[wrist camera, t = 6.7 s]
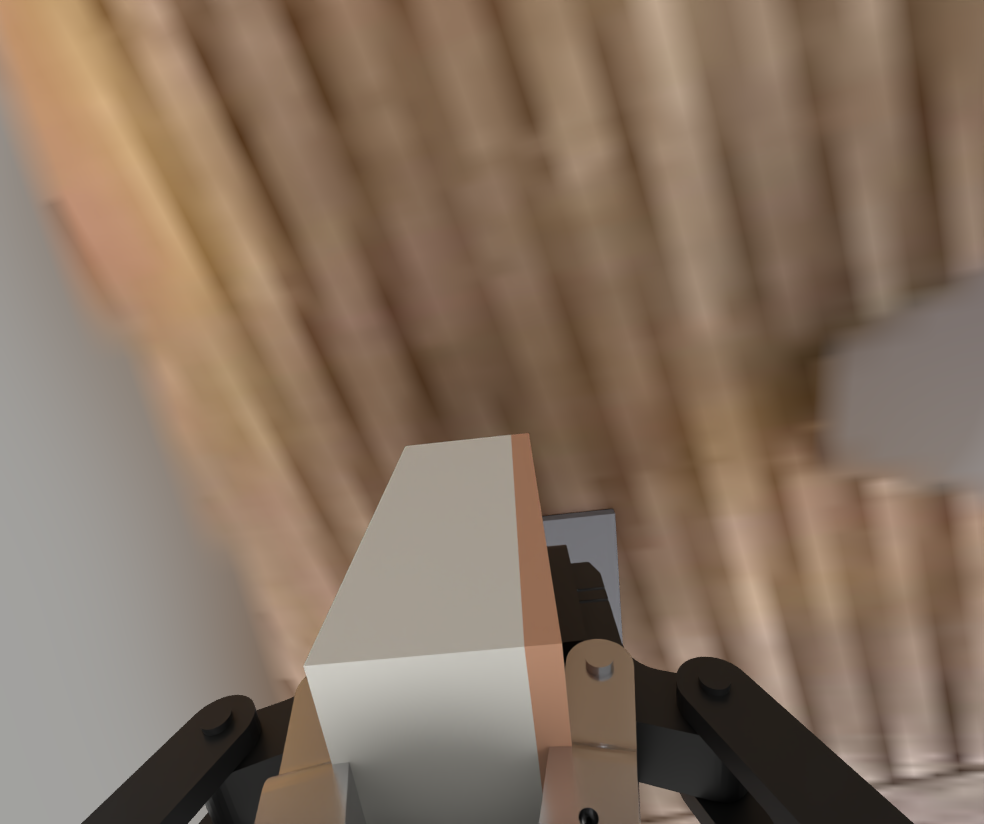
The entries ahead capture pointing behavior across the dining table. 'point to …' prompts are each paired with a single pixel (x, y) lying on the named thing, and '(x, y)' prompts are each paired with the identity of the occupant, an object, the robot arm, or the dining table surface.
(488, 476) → the white block copper side
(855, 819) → the robot arm
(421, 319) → the dining table surface
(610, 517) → the mat
